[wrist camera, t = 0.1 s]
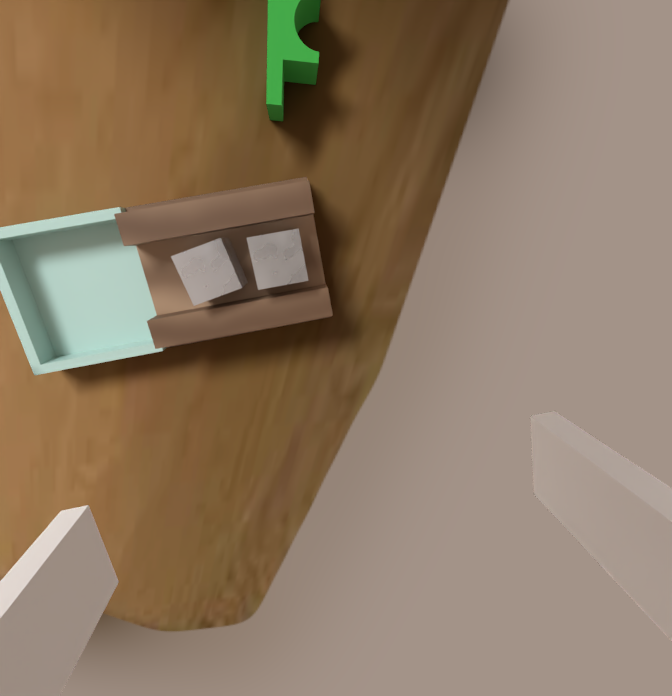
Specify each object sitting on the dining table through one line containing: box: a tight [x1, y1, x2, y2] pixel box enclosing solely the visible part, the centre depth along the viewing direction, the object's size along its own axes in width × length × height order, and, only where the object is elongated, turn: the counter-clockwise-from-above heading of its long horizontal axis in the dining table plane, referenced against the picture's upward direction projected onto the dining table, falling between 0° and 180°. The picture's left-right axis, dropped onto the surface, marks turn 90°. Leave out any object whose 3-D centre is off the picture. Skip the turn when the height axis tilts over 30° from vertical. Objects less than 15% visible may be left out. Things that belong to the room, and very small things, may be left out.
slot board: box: [114, 177, 333, 349], centre depth 35 cm, size 12×15×4 cm
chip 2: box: [247, 228, 308, 290], centre depth 33 cm, size 4×4×4 cm
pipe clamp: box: [266, 0, 321, 121], centre depth 31 cm, size 11×4×5 cm, turn 176°
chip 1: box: [171, 238, 248, 306], centre depth 33 cm, size 4×4×4 cm
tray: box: [0, 207, 166, 375], centre depth 35 cm, size 12×11×3 cm
